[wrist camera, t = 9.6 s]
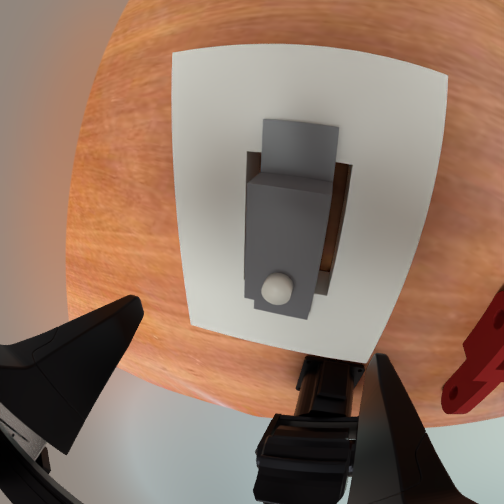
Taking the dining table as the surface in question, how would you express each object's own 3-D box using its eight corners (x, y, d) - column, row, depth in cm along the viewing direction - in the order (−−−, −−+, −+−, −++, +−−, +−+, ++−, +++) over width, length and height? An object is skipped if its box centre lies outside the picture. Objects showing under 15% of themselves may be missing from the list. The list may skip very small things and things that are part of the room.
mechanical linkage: (502, 279, 16) (524, 316, 12) (539, 293, 14) (558, 325, 10) (424, 386, 24) (427, 421, 20) (464, 389, 23) (469, 420, 19)
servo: (277, 117, 16) (243, 121, 11) (338, 124, 15) (340, 131, 10) (266, 280, 23) (239, 339, 17) (313, 290, 22) (299, 353, 16)
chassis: (366, 338, 23) (366, 363, 20) (204, 304, 27) (191, 324, 24) (431, 79, 11) (448, 75, 9) (195, 58, 15) (172, 52, 13)
